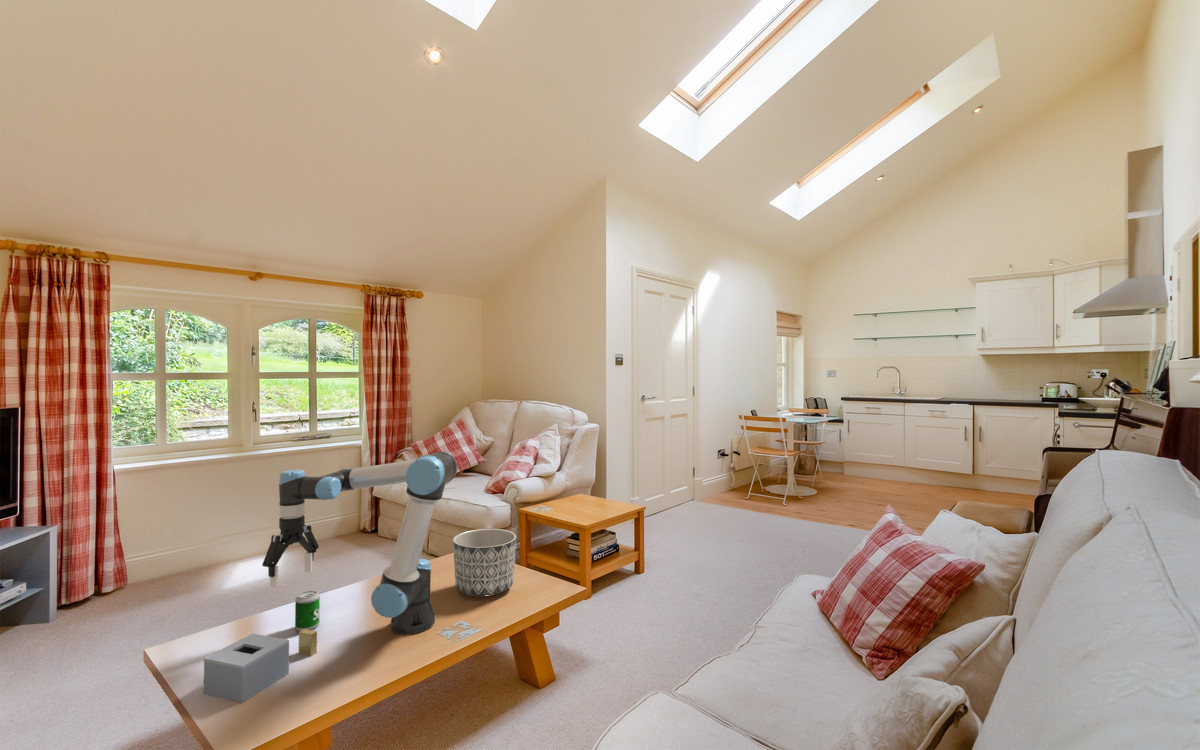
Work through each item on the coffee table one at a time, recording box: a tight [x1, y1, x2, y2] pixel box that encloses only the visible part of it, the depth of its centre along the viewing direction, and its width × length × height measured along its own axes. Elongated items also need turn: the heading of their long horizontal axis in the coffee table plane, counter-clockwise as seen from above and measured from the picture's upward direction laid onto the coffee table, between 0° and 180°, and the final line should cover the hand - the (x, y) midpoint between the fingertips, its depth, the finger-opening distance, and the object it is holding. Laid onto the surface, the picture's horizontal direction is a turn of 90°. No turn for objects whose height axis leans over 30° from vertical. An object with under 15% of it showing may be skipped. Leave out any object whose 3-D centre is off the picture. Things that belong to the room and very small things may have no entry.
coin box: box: [203, 633, 290, 704], centre depth 153 cm, size 14×15×10 cm
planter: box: [452, 528, 517, 597], centre depth 222 cm, size 26×26×22 cm
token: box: [298, 629, 318, 657], centre depth 170 cm, size 5×2×7 cm, turn 74°
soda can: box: [294, 590, 321, 633], centre depth 187 cm, size 8×8×12 cm
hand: (291, 578), depth 181 cm, fingers open, 13 cm apart
